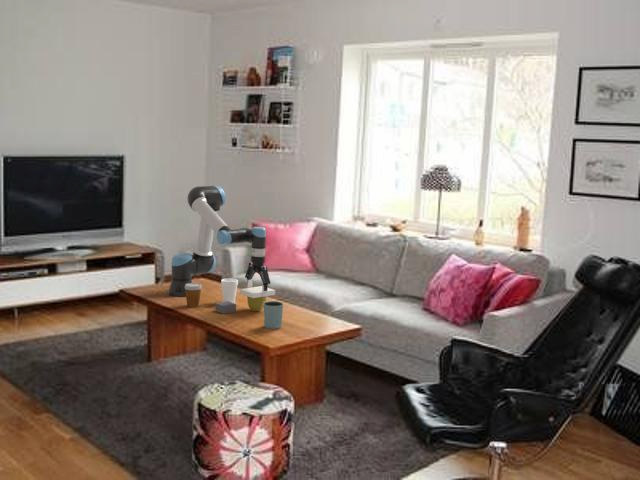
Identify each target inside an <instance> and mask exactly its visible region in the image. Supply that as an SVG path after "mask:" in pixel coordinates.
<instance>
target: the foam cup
mask: <svg viewBox="0 0 640 480" xmlns="http://www.w3.org/2000/svg"><path fill="white" fill-rule="evenodd" d="M220 285H221V294H222V302H226V301H229V302H231V303H234V304H236V296H237V290H238V286H239V280H238V279H237V278H222V279H221V281H220Z"/></svg>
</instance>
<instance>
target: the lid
mask: <svg viewBox="0 0 640 480" xmlns="http://www.w3.org/2000/svg"><path fill="white" fill-rule="evenodd" d="M239 294H241V295H243V296H246V297H247V296H248V297H251V298H257V297H262V285H260V286H252V287H251V288H248V287H246V288H240V289H239ZM274 295H275V296H276V289H273V288H270V287H268V288H267V296H266V297H269V296H274Z"/></svg>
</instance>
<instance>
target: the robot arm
mask: <svg viewBox="0 0 640 480" xmlns="http://www.w3.org/2000/svg"><path fill="white" fill-rule="evenodd" d="M226 200H227V199H226V192H225V191H224V189H223V188H222V186H220V185H205V186H204V185H203V186H202V185H201V186H195V187H193V188H192V189H190V190H189V192H188V194H187V203H188V204H187V205H188V206H189V207H190V209H191V210H192V211H193V212H195V213H196V212H197V213H198V215H199V216H200V222H199V229H198V234H197V235H198V237H197V241H196V242H197V243H196V248H195V249H194V250H193V251H192V253H191V252H184V253H183V252H182V253H177V254H174V255H173V256H172V258H171V263H170V264H171V281H170V284H169V287H168V291H167V292H168V295H169V296H172V297H186V291H185V288H184V287H185V285H186V284H188V283H193V278H192V277H193V276H195V275H196V276H197V275H202V274H208V273H211V272H213V271H214V269H215V268H216V266H217V265H216V264H217V260H216V257H215V254H214V252H213V250H212V245H213V241H214V240H213V239H214V233H215V234H216V240H217V242H218V244H220V245H227V246H228V245H232V244H234V245H235V244H241V243H248V244H251V251H250V252H251V257H250V262H248V266H247V270H246V272H245V275H244V278H245V279H246V280H247V283H246V284H247V288H251V287H253V282H254V281H253V278H254V275H255V274H258V275H259V277H260V279H261V282H262V285H261V286H262V297H265V296H266V297H268V296H267V288H269V286H268V285H271V280H270V276H269V271H268V266H267V265H266V266H265V265H264V264H265V263H266V244H267V242H266V241H267V240H266V239H267V237H266V236H267V233H266V232H267V230H266V227H263V226H253V227H252V228H249V227H239V228H237V229H231V227H229V226H228V225H227V223H226V222H225V220H223V219H222V218H221V216H220V215H219V214H218V213H219V212H220V211H221V207H222V206H224V205H225V203H226Z"/></svg>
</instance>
